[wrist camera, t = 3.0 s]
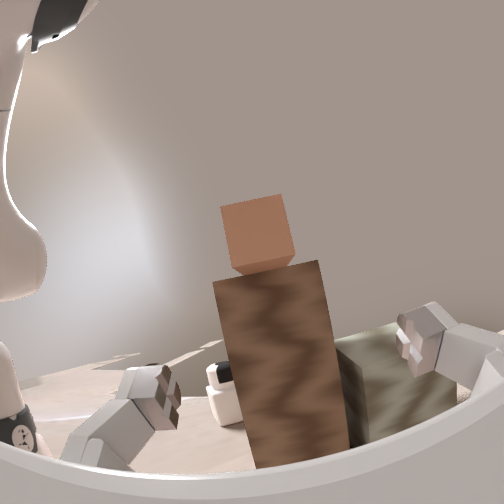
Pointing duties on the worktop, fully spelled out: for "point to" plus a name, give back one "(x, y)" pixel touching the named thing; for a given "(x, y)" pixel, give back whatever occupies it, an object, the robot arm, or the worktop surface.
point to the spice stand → (315, 371)
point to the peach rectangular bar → (258, 235)
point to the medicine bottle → (223, 394)
